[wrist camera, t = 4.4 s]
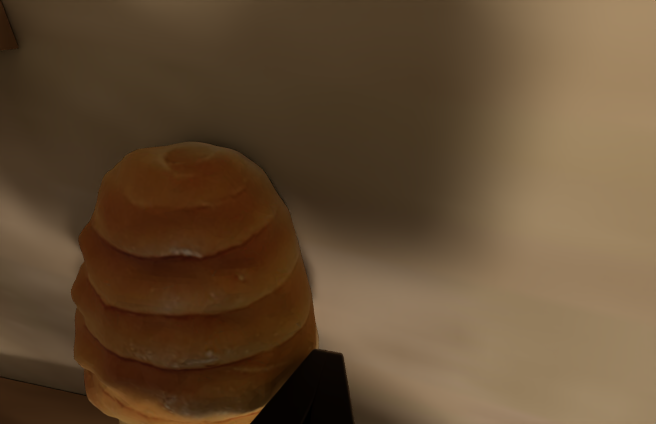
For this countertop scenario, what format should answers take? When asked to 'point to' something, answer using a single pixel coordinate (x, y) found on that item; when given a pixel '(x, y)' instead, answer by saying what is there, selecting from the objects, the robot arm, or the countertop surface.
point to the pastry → (189, 289)
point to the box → (31, 400)
